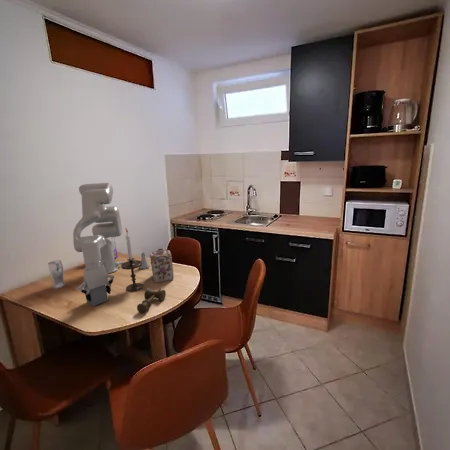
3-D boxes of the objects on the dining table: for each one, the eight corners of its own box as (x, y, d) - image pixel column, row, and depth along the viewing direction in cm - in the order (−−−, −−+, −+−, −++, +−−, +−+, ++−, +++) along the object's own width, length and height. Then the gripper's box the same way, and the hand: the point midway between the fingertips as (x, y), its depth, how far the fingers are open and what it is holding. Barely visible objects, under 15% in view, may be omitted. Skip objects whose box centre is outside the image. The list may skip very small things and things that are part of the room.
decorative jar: (171, 272, 172) (168, 245, 168) (174, 279, 162) (171, 250, 157) (152, 275, 169) (148, 247, 165) (153, 283, 158) (150, 253, 154)
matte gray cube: (102, 296, 145) (99, 280, 144) (108, 300, 140) (105, 284, 138) (87, 302, 140) (83, 286, 138) (92, 306, 135) (89, 289, 133)
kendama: (132, 314, 128) (153, 292, 147) (151, 316, 126) (169, 294, 145) (131, 302, 127) (152, 282, 145) (150, 305, 124) (168, 284, 143)
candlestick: (120, 289, 152) (111, 228, 144) (137, 282, 161) (129, 224, 152) (132, 294, 146) (123, 231, 138) (148, 286, 154) (141, 226, 146)
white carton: (113, 256, 207) (110, 235, 203) (118, 257, 203) (114, 236, 199) (96, 262, 196) (92, 240, 192) (100, 264, 192) (96, 241, 188)
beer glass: (60, 289, 156) (55, 264, 152) (49, 288, 157) (44, 264, 154) (69, 283, 163) (64, 260, 159) (59, 283, 164) (54, 259, 161)
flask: (140, 265, 186) (138, 251, 184) (151, 264, 187) (149, 250, 184) (138, 269, 179) (136, 255, 177) (149, 269, 180) (147, 254, 177)
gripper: (107, 257, 142) (112, 288, 146) (71, 268, 129) (78, 301, 134) (114, 261, 136) (119, 292, 141) (77, 272, 124) (84, 306, 128)
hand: (99, 296), depth 137 cm, fingers open, 9 cm apart
